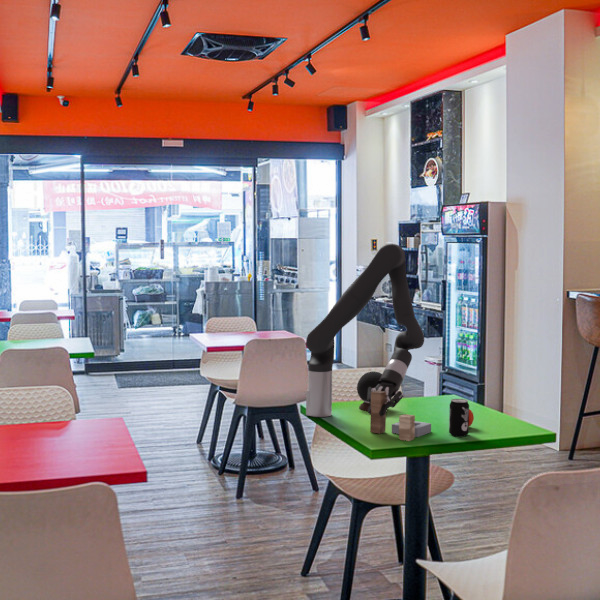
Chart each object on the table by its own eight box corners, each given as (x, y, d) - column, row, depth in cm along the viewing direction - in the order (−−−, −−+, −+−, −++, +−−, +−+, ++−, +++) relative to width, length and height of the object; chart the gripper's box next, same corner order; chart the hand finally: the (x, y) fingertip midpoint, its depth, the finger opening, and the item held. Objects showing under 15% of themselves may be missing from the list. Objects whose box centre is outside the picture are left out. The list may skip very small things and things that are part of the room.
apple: (476, 430, 281) (476, 407, 280) (453, 430, 280) (454, 407, 280) (469, 425, 289) (470, 403, 288) (447, 425, 288) (448, 403, 288)
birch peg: (408, 441, 263) (409, 417, 263) (398, 439, 265) (399, 415, 265) (414, 439, 266) (414, 415, 266) (404, 437, 268) (404, 414, 268)
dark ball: (385, 405, 325) (385, 369, 324) (393, 411, 312) (394, 373, 311) (353, 405, 323) (354, 369, 322) (360, 412, 310) (361, 374, 309)
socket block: (417, 437, 269) (417, 428, 269) (391, 432, 275) (391, 424, 275) (431, 432, 277) (431, 423, 277) (405, 428, 283) (405, 419, 283)
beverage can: (457, 437, 269) (457, 402, 268) (445, 433, 275) (445, 399, 274) (472, 435, 272) (473, 401, 271) (460, 431, 278) (460, 397, 277)
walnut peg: (379, 433, 273) (380, 393, 272) (370, 432, 275) (371, 392, 274) (385, 431, 276) (386, 391, 275) (376, 430, 278) (376, 390, 277)
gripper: (372, 366, 284) (353, 405, 275) (407, 370, 276) (389, 410, 267) (380, 379, 289) (361, 417, 280) (414, 383, 280) (396, 423, 271)
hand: (375, 414), depth 273 cm, fingers closed on walnut peg, 3 cm apart
